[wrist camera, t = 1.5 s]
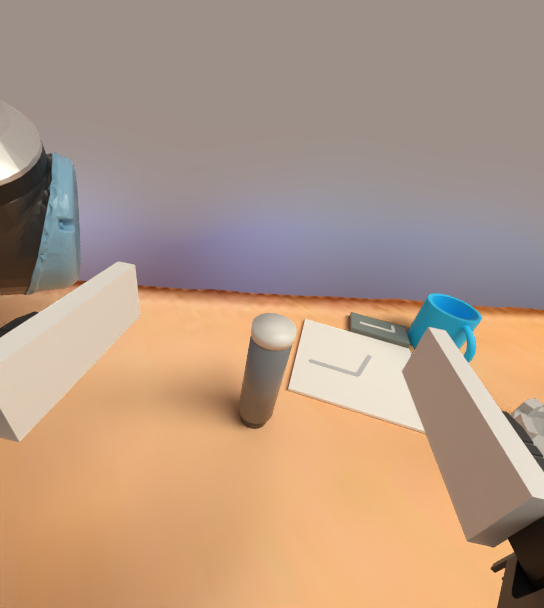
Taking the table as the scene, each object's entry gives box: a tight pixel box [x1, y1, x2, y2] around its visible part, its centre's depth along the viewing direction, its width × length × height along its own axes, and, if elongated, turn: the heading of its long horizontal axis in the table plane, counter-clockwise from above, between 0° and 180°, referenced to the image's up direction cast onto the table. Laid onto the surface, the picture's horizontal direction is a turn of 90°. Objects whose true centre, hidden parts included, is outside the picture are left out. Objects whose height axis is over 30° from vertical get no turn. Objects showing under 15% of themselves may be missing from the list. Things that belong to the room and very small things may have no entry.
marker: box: [239, 313, 297, 429], centre depth 27 cm, size 4×4×13 cm
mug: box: [407, 294, 482, 363], centre depth 45 cm, size 12×8×8 cm
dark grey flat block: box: [350, 312, 410, 348], centre depth 49 cm, size 10×5×1 cm, turn 77°
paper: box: [288, 319, 426, 434], centre depth 40 cm, size 18×16×1 cm
